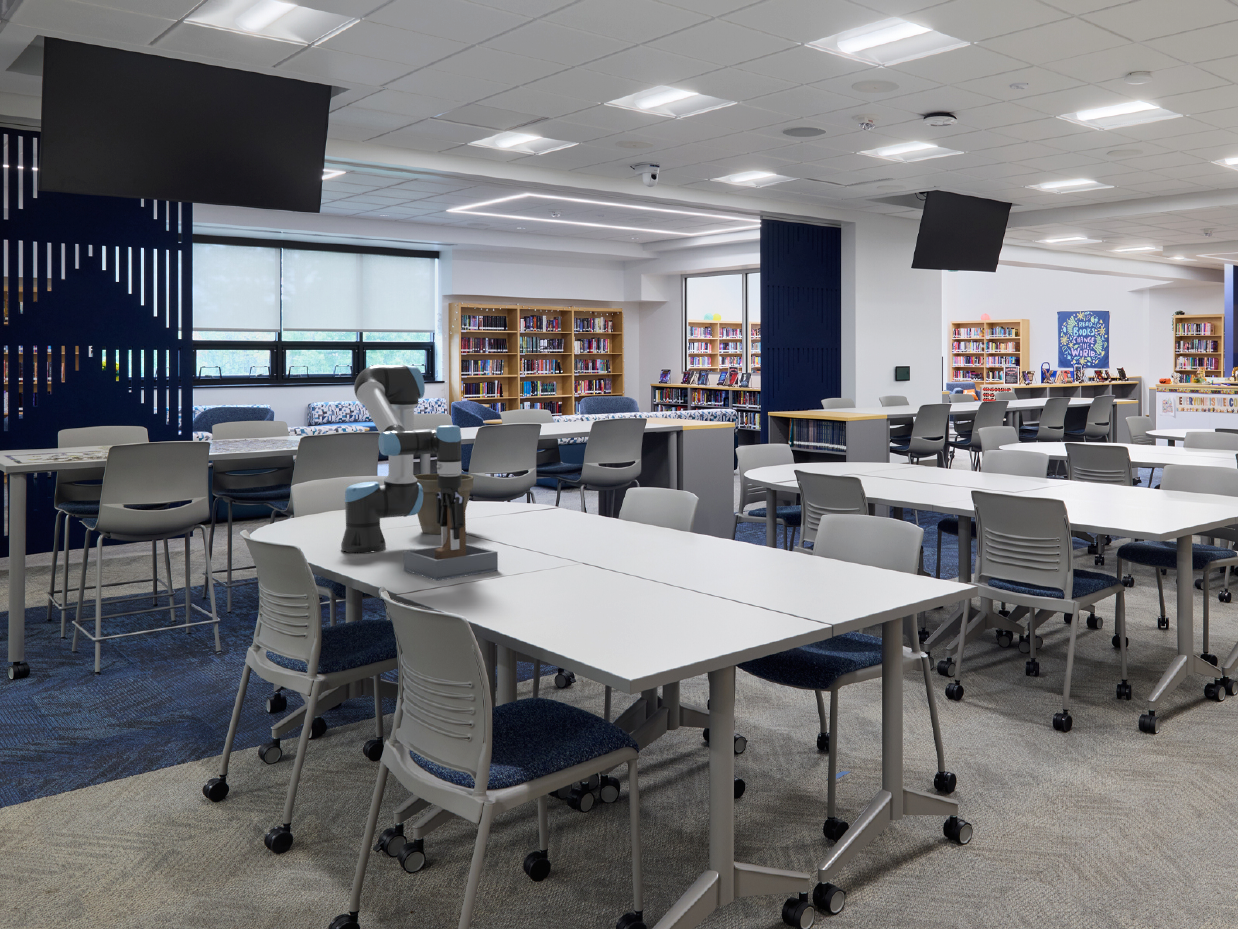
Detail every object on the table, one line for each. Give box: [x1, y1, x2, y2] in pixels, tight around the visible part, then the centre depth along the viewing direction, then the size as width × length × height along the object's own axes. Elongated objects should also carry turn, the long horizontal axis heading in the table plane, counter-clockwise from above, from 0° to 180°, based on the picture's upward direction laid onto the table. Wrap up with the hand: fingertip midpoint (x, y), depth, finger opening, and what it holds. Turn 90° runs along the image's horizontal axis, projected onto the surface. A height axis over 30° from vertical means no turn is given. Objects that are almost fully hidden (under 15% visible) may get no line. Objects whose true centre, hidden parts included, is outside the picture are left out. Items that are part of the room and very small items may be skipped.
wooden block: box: [435, 506, 467, 560], centre depth 301 cm, size 9×4×18 cm, turn 125°
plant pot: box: [413, 473, 474, 535], centre depth 372 cm, size 25×25×22 cm
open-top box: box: [403, 543, 499, 581], centre depth 302 cm, size 20×22×6 cm
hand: (450, 547), depth 302 cm, fingers closed on wooden block, 5 cm apart
